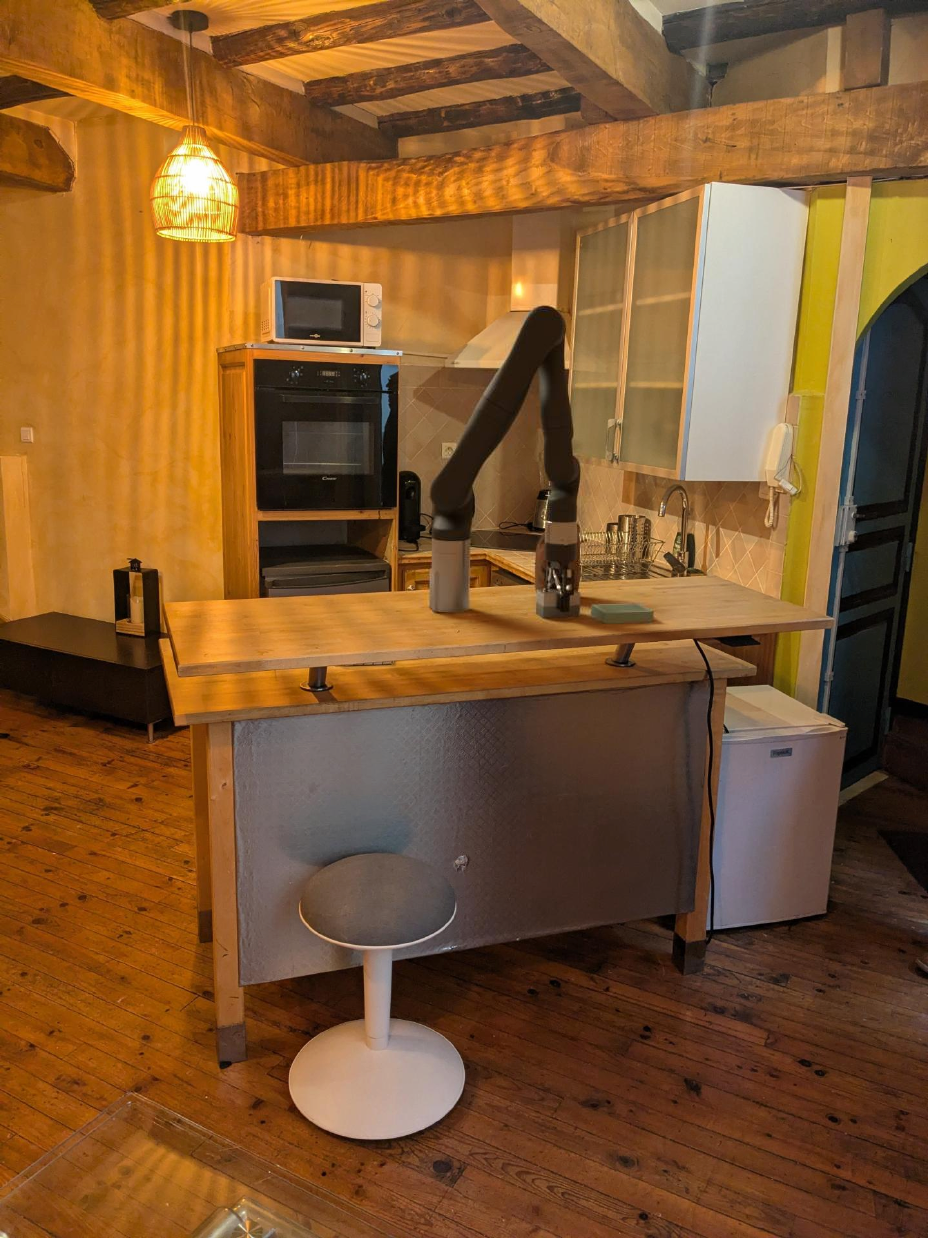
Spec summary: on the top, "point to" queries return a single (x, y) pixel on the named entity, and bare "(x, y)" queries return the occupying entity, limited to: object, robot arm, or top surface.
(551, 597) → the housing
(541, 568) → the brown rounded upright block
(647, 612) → the stand
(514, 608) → the top surface
